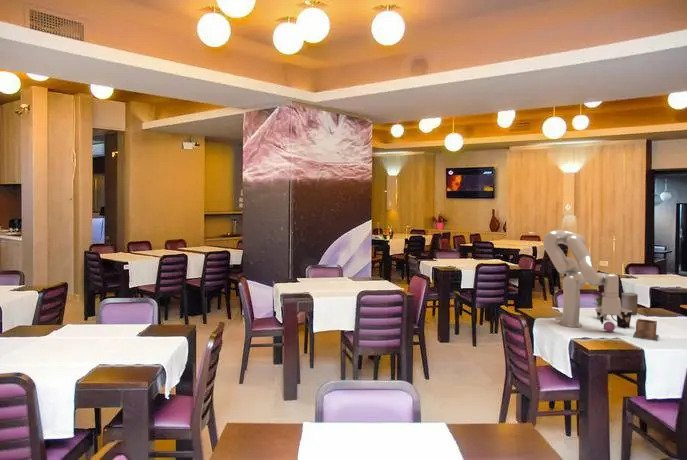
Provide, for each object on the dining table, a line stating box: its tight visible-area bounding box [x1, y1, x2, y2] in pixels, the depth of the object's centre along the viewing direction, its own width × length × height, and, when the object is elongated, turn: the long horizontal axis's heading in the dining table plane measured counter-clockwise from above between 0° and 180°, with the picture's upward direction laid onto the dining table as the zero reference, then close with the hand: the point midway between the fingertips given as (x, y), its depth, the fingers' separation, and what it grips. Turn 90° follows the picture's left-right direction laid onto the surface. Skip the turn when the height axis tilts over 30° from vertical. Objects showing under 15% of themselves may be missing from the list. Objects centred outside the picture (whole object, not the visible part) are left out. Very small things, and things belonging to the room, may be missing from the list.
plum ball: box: [603, 321, 616, 333], centre depth 322 cm, size 6×6×6 cm
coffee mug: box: [610, 309, 633, 329], centre depth 336 cm, size 12×9×10 cm
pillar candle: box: [621, 292, 639, 316], centre depth 373 cm, size 10×10×15 cm
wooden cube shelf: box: [632, 318, 660, 341], centre depth 312 cm, size 12×12×9 cm
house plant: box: [591, 294, 608, 320], centre depth 357 cm, size 14×14×16 cm
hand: (611, 324), depth 321 cm, fingers open, 9 cm apart
